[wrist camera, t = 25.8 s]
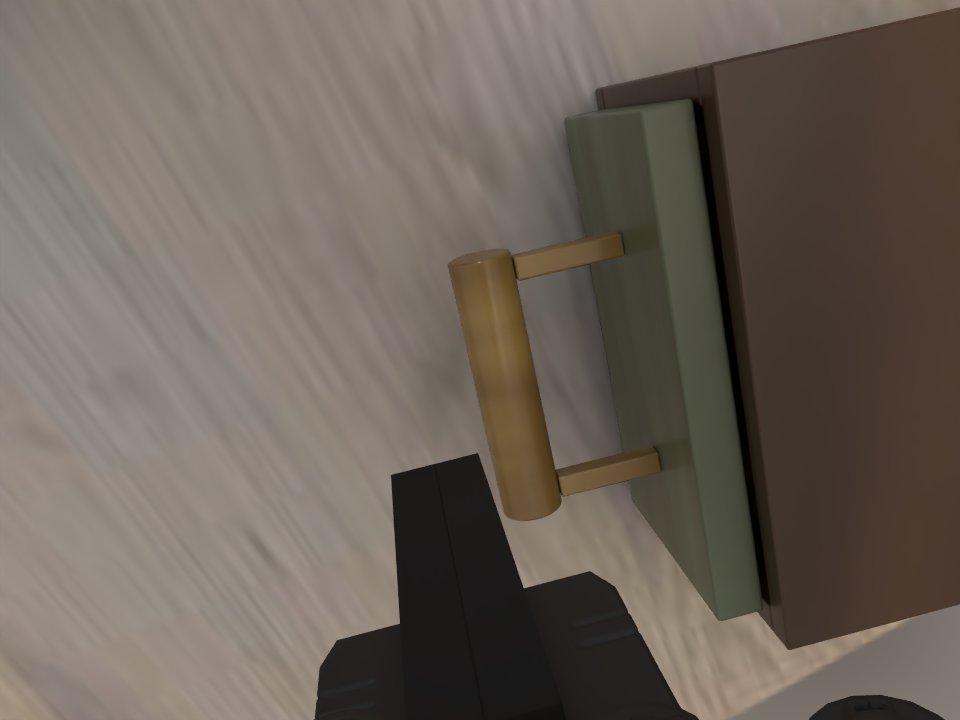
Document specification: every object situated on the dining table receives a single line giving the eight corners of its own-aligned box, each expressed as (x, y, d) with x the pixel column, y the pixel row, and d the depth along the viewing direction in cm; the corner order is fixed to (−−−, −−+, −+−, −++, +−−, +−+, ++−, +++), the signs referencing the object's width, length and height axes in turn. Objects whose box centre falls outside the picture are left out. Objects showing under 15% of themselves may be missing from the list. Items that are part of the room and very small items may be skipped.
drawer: (502, 535, 28) (546, 669, 21) (414, 151, 24) (431, 156, 17) (1043, 397, 29) (1257, 480, 22) (1029, 13, 26) (1278, -34, 19)
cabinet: (663, 498, 29) (788, 651, 20) (594, 89, 25) (710, 63, 17) (1087, 389, 30) (1379, 492, 21) (1079, -19, 26) (1429, -98, 18)
